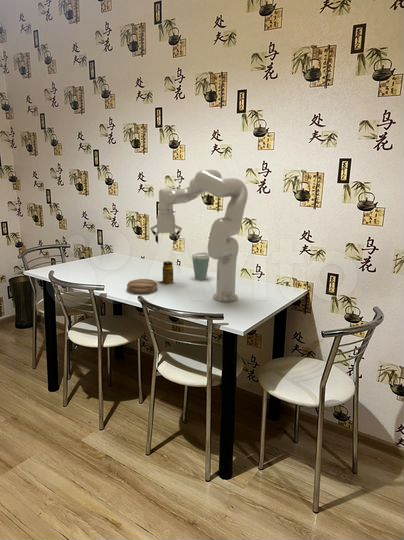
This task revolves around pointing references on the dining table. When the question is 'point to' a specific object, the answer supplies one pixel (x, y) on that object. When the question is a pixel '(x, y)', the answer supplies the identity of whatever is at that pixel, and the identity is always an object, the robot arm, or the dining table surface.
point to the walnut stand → (142, 286)
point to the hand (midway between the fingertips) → (166, 242)
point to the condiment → (167, 273)
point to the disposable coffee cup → (200, 265)
